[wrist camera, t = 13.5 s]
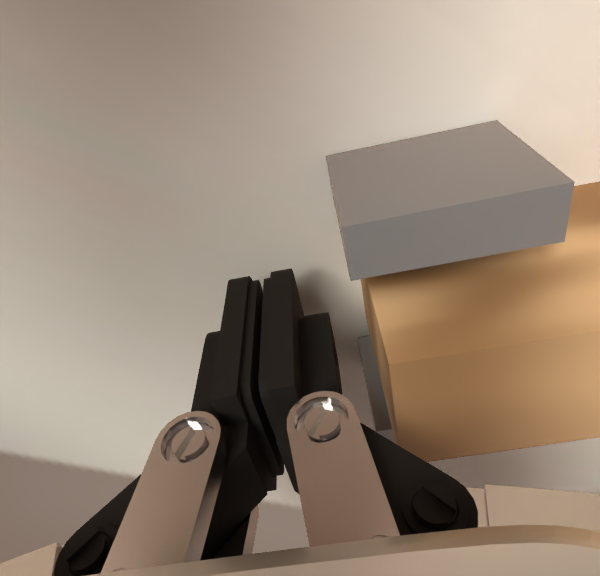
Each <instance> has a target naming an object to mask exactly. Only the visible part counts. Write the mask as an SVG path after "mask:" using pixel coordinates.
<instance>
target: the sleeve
mask: <svg viewBox="0 0 600 576" xmlns="http://www.w3.org/2000/svg"><path fill="white" fill-rule="evenodd" d="M326 159H327V164H328V170H329V176H330V182H331V188H332V193H333V199H334V204H335V209H336V214H337V218H338V223H339V228H340V233H341V237H342V242H343V247H344V251H345V256H346V261H347V266H348V270H349V275H350V280H351V281H353V280H358V279H364V278H369V277H375V276H380V275H385V274H391V273H396V272H402V271H407V270H413V269H418V268H424V267H429V266H435V265H440V264H446V263H451V262H456V261H462V260H467V259H473V258H478V257H484V256H489V255H495V254H500V253H506V252H511V251H517V250H522V249H527V248H533V247H538V246H544V245H549V244H555V243H560V242H565V237H566V231H567V224H568V218H569V212H570V206H571V200H572V193H573V187H574V181H572V180H571V179H570V178H569V177H567V176H566V175H565V174H564V173H562V172H561V171H560V170H559V169H557V168H556V167H555V166H554V165H552V164H551V163H550V162H549V161H547V160H546V159H545V158H543V157H542V156H541V155H540V154H538V153H537V152H536V151H535V150H533V149H532V148H531V147H530V146H528V145H527V144H526V143H525V142H523V141H522V140H521V139H520V138H518V137H517V136H516V135H514V134H513V133H512V132H511V131H509V130H508V129H507V128H506V127H504V126H503V125H502V124H501V123H499V122H498V121H497V120H496V121H491V122H487V123H482V124H477V125H472V126H467V127H463V128H458V129H453V130H448V131H443V132H439V133H434V134H429V135H424V136H419V137H415V138H410V139H405V140H400V141H396V142H391V143H386V144H381V145H376V146H372V147H367V148H362V149H357V150H352V151H348V152H343V153H338V154H333V155H328V156H326ZM358 343H359V349H360V355H361V360H362V366H363V371H364V376H365V381H366V386H367V391H368V396H369V402H370V407H371V412H372V417H373V422H374V427H375V432H377V433H379V434H380V435H382V436H384V437H385V438H387V439H389V440H390V441H392V442H394V443H395V439H394V434H393V430H392V426H391V421H390V417H389V413H388V408H387V404H386V400H385V396H384V391H383V387H382V383H381V378H380V374H379V370H378V366H377V361H376V357H375V353H374V348H373V344H372V340H371V336H366V337H360V338H358ZM395 444H396V443H395Z"/></svg>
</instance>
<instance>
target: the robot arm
mask: <svg viewBox="0 0 600 576" xmlns="http://www.w3.org/2000/svg"><path fill="white" fill-rule="evenodd" d="M284 464H285V467H286V469H287V472H288V475H289V477H290V480H291V482H292V485H293V488H294V490H295V491H296V492H297V493H298V494H299V495H300V500H301V505H302V510H303V515H304V520H305V526H306V531H307V536H308V541H309V546H310V547H304V548H296V549H288V550H280V551H272V552H264V553H256V554H252V551H253V545H254V540H255V535H256V529H257V523H258V518H259V507H258V504H259V503H260V502H261V501H262V499H263V498H264V497H265V496H266V495H267V491H272V490H276V480H277V475H283V473H284ZM0 576H600V495H597V494H593V493H583V492H571V491H560V490H548V489H536V488H524V487H512V486H501V485H489V484H485V489H479V488H468V487H464V486H463V485H462V484H460V483H459V482H458V481H457V480H455V479H454V478H452V477H450V476H449V475H447V474H445V473H444V472H442V471H440V470H439V469H437V468H435V467H434V466H432V465H430V464H429V463H427V462H425V461H424V460H422V459H420V458H419V457H417V456H415V455H414V454H412V453H410V452H409V451H407V450H405V449H404V448H402V447H400V446H399V445H397V444H395V443H394V442H392V441H390V440H389V439H387V438H385V437H384V436H382V435H380V434H379V433H377V432H375V431H374V430H372V429H370V428H369V427H367V426H365V425H364V424H362V423H360V421H359V418H358V415H357V413H356V410H355V408H354V406H353V404H352V403H351V401H350V400H349V399H347V398H346V397H345V396H344V395H342V388H341V380H340V373H339V366H338V359H337V353H336V347H335V341H334V336H333V331H332V327H331V322H330V317H329V313H328V312H327V313H321V314H315V315H310V316H304V313H303V309H302V305H301V301H300V297H299V293H298V289H297V285H296V281H295V277H294V274H293V271H292V269H286V270H280V271H275V272H271V278H267V279H264V286H263V291H262V287H261V284H260V282H259V280H256V281H252V279H251V277H250V276H248V277H242V278H237V279H231V280H229V281H228V286H227V293H226V299H225V305H224V311H223V317H222V324H221V330H220V331H217V332H212V333H208V334H207V336H206V339H205V343H204V348H203V353H202V358H201V364H200V369H199V374H198V379H197V384H196V389H195V394H194V399H193V404H192V409H191V412H187V413H185V414H182V415H180V416H178V417H176V418H175V419H173V420H172V421H170V422H169V423H168V424H167V425H166V426H165V427H164V428H163V429H162V430H161V432H160V433H159V435H158V437H157V439H156V440H155V443H154V445H153V448H152V450H151V453H150V455H149V457H148V460H147V462H146V465H145V467H144V469H143V472H142V474H141V475H140V476H139V477H137V478H136V479H135V480H134V481H133V482H132V483H131V484H130V485H128V486H127V487H126V488H125V489H124V490H123V491H122V492H120V493H119V494H118V495H117V496H116V497H115V498H114V499H113V500H111V501H110V502H109V503H108V504H107V505H106V506H105V507H103V508H102V509H101V510H100V511H99V512H98V513H97V514H96V515H94V516H93V517H92V518H91V519H90V520H89V521H88V522H86V523H85V524H84V525H83V526H82V527H81V528H80V529H79V530H77V531H76V532H75V534H74V535H73V536H72V537H71V538H70V539H69V540H68V541H67V542H66V544H65V545H62V546H61V545H59V543H57V542H56V543H53V544H51V545H48V546H45V547H43V548H40V549H37V550H34V551H32V552H29V553H26V554H24V555H21V556H19V557H16V558H13V559H10V560H8V561H5V562H2V563H0Z"/></svg>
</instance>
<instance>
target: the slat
mask: <svg viewBox="0 0 600 576" xmlns="http://www.w3.org/2000/svg"><path fill="white" fill-rule="evenodd" d="M361 284H362V291H363V298H364V305H365V311H366V318H367V323H368V327H369V331H370V335H371V340H372V344H373V348H374V353H375V357H376V361H377V366H378V370H379V374H380V378H381V383H382V387H383V391H384V396H385V400H386V404H387V408H388V413H389V417H390V421H391V426H392V430H393V434H394V439H395V443H396V444H397V445H399V446H400V447H402V448H404V449H405V450H407V451H409V452H410V453H412V454H414V455H415V456H417V457H419V458H420V459H422V460H424V461H425V462H429V461H436V460H443V459H450V458H457V457H464V456H471V455H478V454H485V453H492V452H499V451H506V450H513V449H520V448H527V447H534V446H541V445H548V444H555V443H562V442H569V441H576V440H584V439H591V438H598V437H600V182H595V183H589V184H584V185H579V186H574V187H573V193H572V200H571V206H570V212H569V218H568V224H567V231H566V237H565V242H560V243H555V244H549V245H544V246H538V247H533V248H527V249H522V250H517V251H511V252H506V253H500V254H495V255H489V256H484V257H478V258H473V259H467V260H462V261H456V262H451V263H446V264H440V265H435V266H429V267H424V268H418V269H413V270H407V271H402V272H396V273H391V274H385V275H380V276H375V277H369V278H364V279H361Z"/></svg>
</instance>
